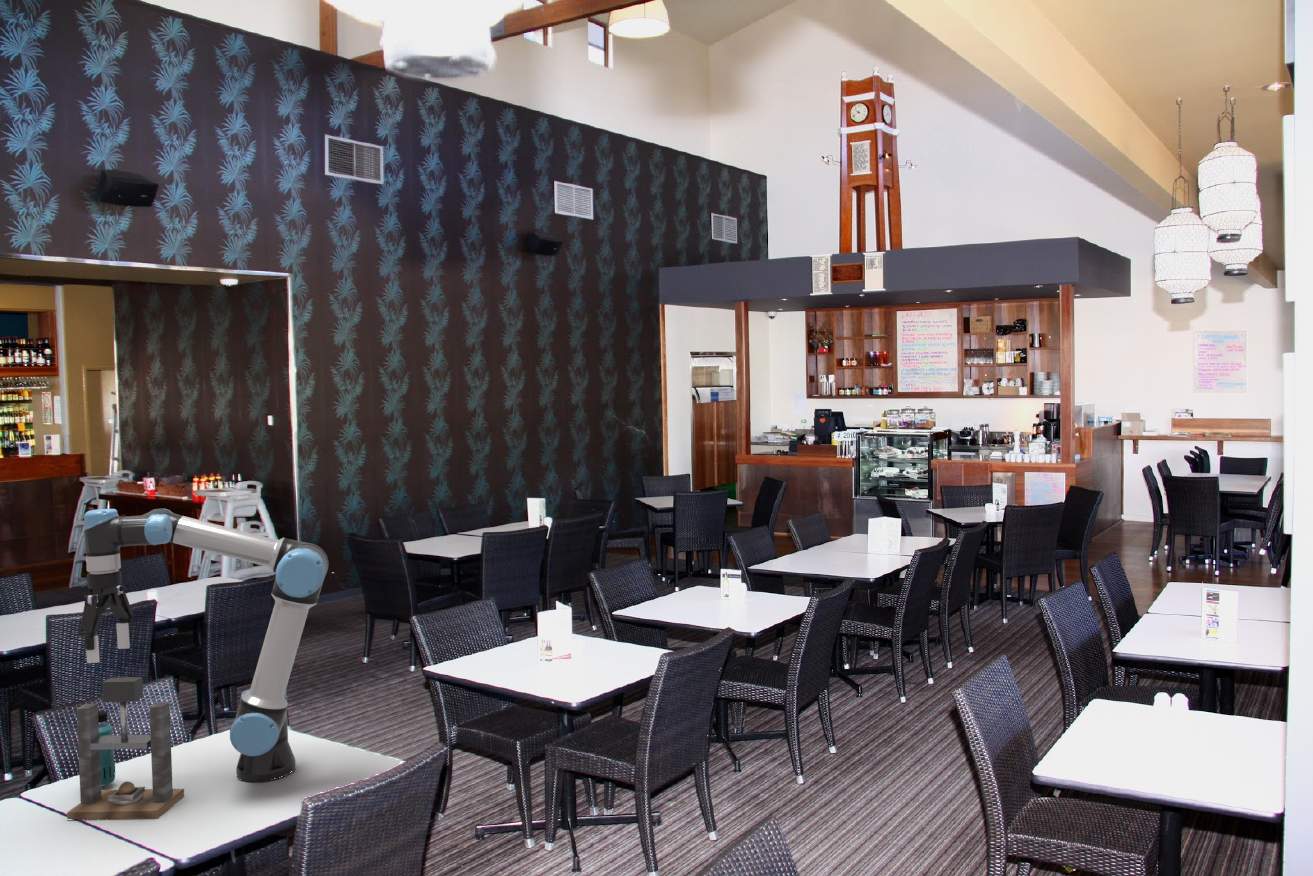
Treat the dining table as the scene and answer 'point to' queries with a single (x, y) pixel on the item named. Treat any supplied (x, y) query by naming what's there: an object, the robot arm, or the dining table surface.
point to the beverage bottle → (106, 752)
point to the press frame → (110, 801)
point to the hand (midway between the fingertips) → (109, 655)
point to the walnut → (126, 788)
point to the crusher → (122, 714)
